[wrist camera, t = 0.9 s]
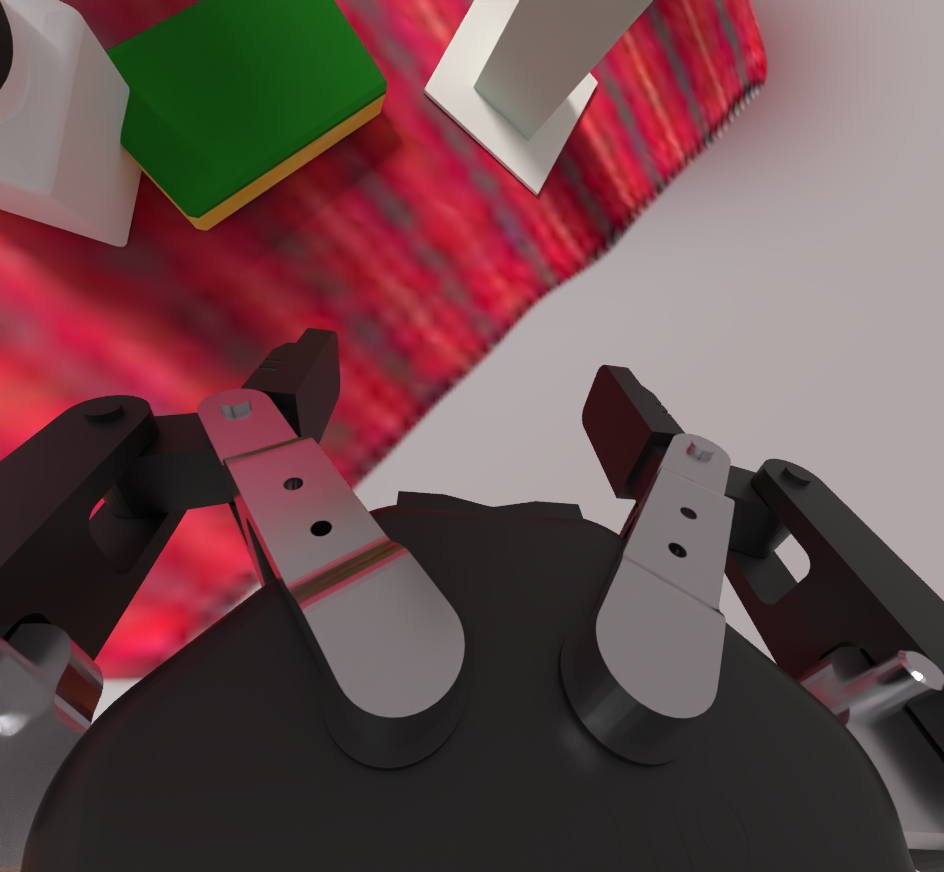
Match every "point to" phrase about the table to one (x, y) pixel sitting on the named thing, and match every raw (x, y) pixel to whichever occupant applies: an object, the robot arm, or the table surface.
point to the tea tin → (550, 55)
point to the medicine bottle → (62, 124)
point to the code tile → (480, 118)
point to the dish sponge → (241, 97)
